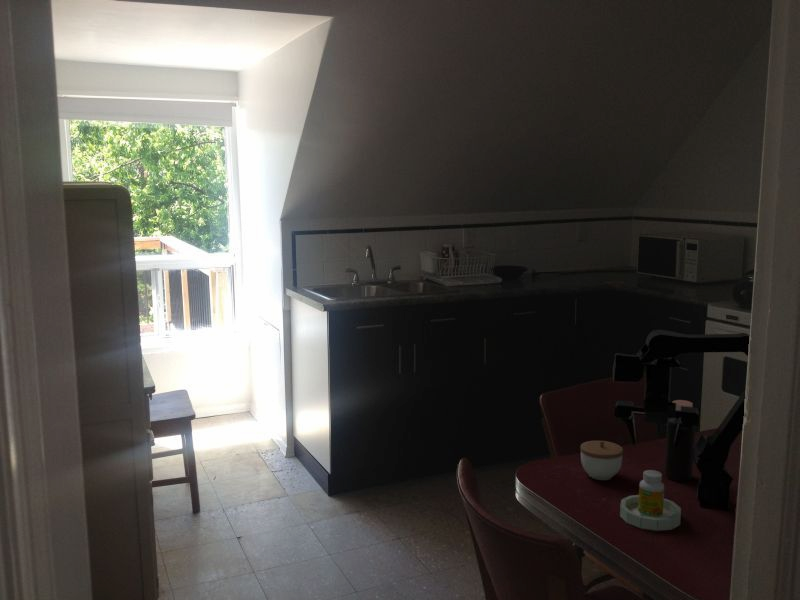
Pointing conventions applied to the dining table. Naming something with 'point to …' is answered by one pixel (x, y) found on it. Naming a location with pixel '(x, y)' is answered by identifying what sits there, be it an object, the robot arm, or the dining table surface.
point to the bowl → (664, 522)
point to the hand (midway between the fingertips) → (654, 446)
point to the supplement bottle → (651, 494)
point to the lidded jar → (601, 459)
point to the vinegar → (679, 449)
